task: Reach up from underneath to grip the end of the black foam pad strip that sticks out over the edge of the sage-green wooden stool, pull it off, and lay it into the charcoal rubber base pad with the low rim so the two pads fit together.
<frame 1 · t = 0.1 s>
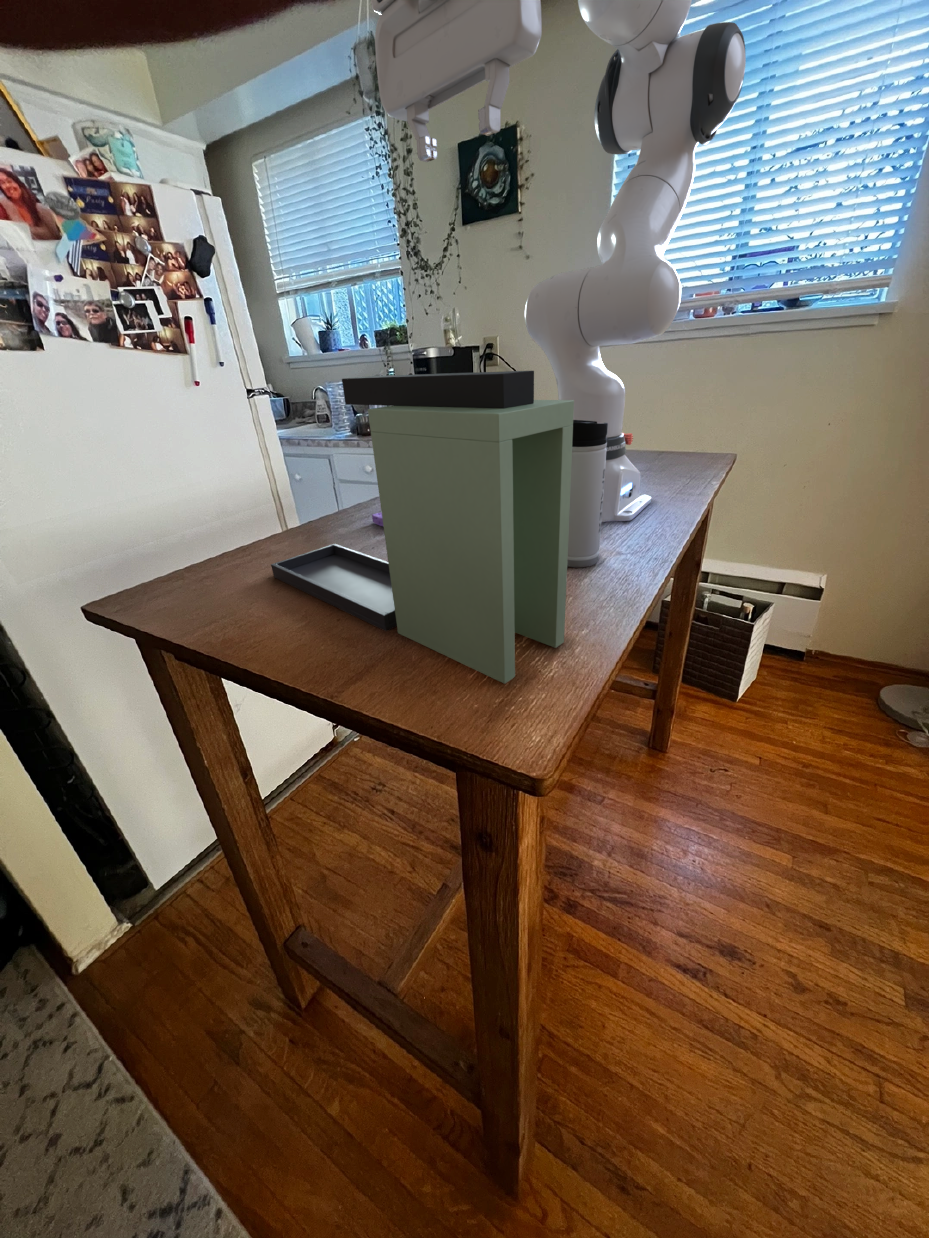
hand: (457, 147, 54), 48 cm above the table, tool pointing down, fingers open, 8 cm apart
base pad: (357, 587, 70), on the table
stool: (478, 637, 56), on the table
black pad: (428, 404, 48), point 24 cm above the table, touching stool
sponge: (409, 520, 99), on the table
travel mug: (575, 561, 75), on the table
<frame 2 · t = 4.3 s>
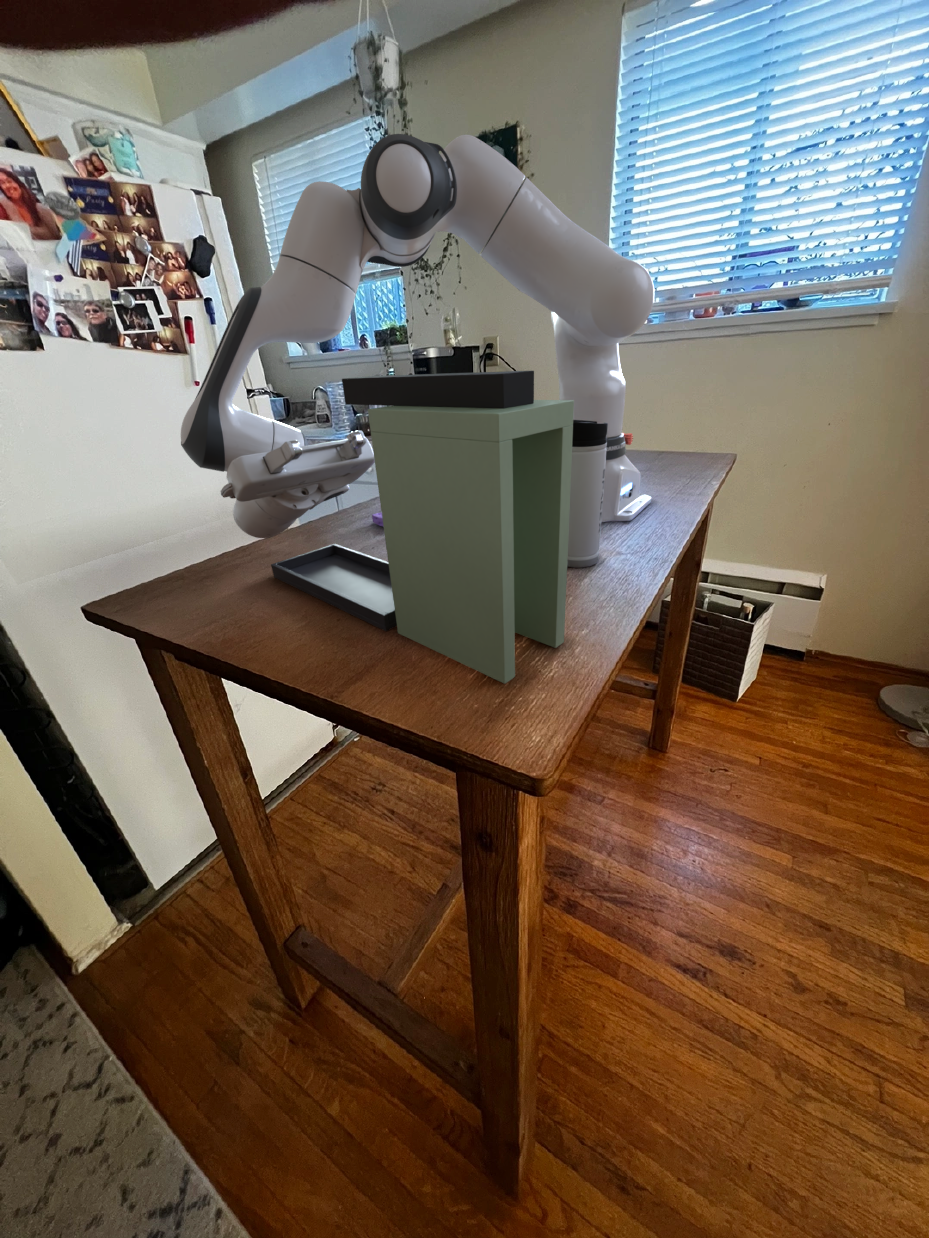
hand: (329, 441, 62), 20 cm above the table, tool pointing upward, fingers open, 8 cm apart
nothing on the table moved.
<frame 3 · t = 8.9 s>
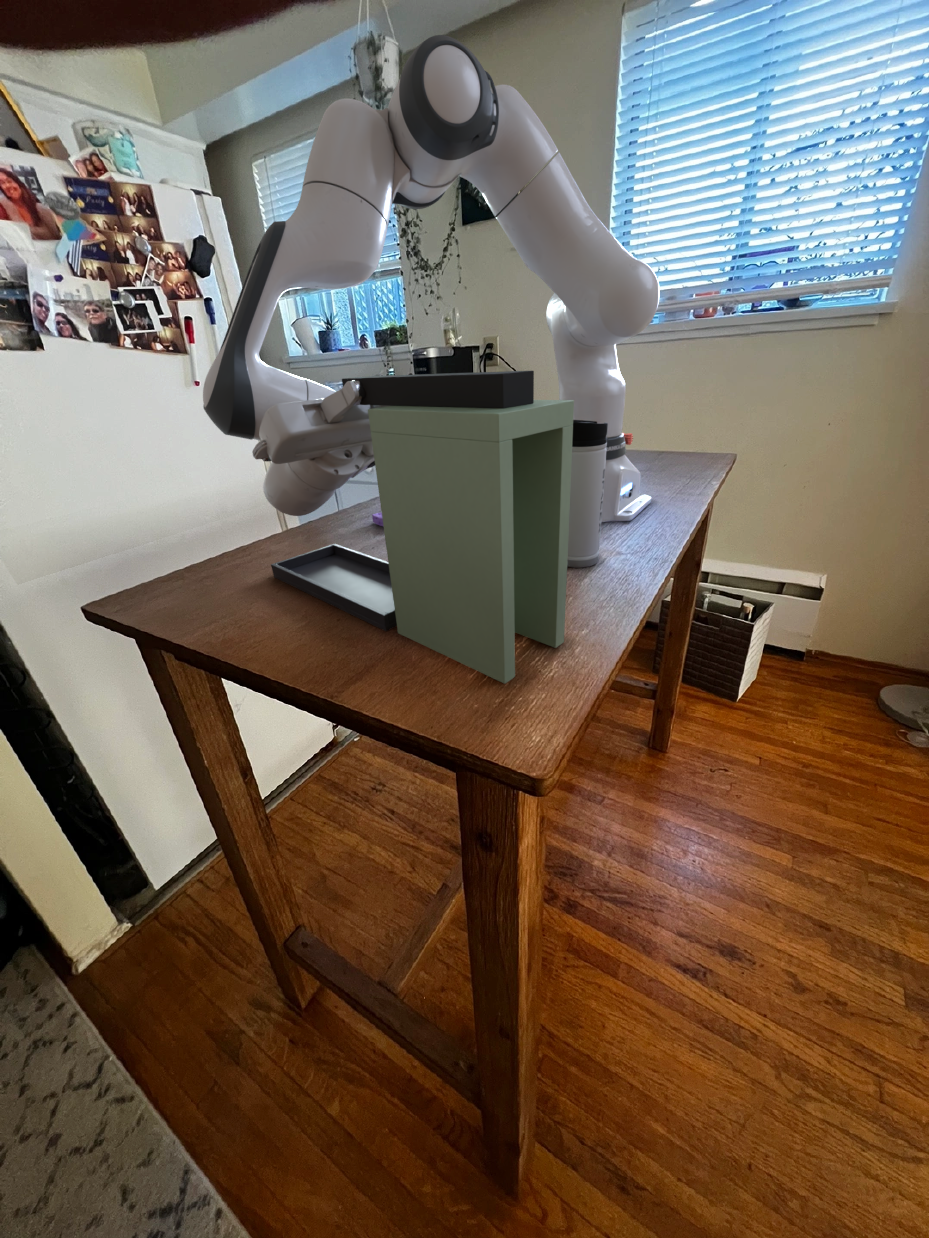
hand: (379, 385, 52), 26 cm above the table, tool pointing upward, fingers closed on black pad, 4 cm apart
black pad: (428, 404, 48), point 24 cm above the table, touching gripper, stool
everything else where it was.
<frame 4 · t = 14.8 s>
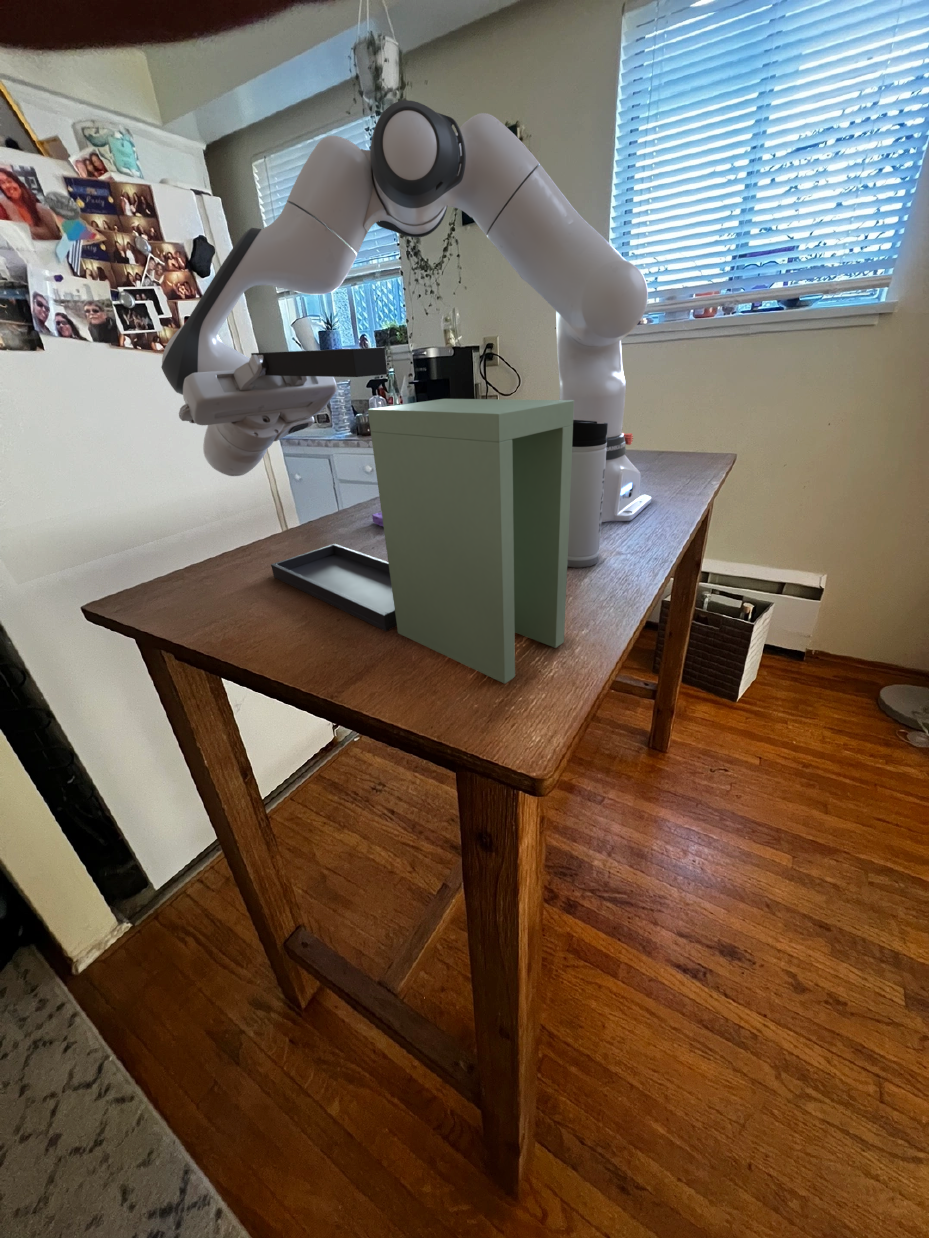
hand: (281, 359, 62), 29 cm above the table, tool pointing upward, fingers closed on black pad, 4 cm apart
black pad: (315, 375, 58), point 27 cm above the table, touching gripper
everything else where it was.
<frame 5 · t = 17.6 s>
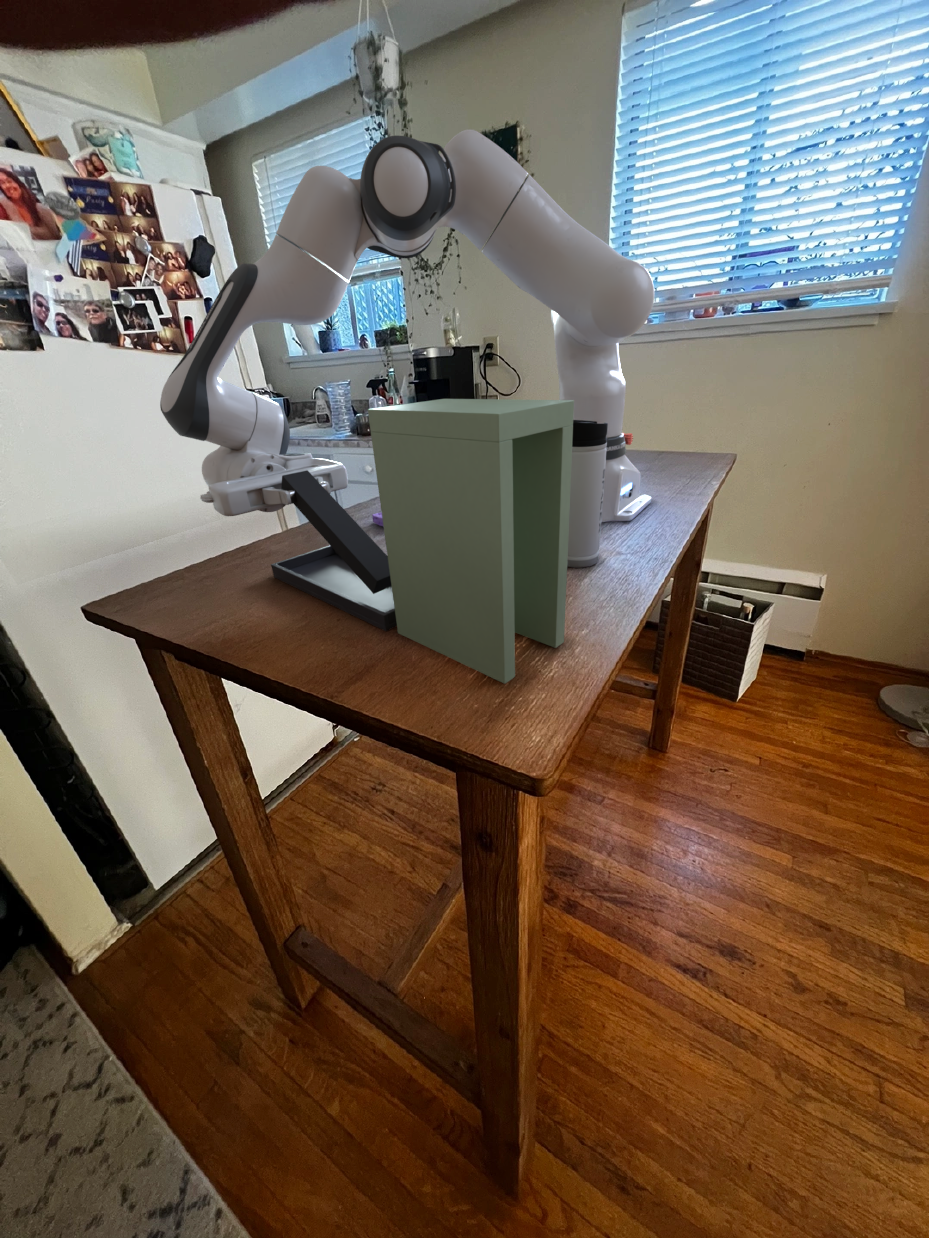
hand: (309, 493, 70), 12 cm above the table, tool horizontal, fingers closed on black pad, 4 cm apart
black pad: (337, 535, 69), point 7 cm above the table, tilted 30°, touching gripper
everything else where it was.
when the fingers open (6 cm above the table, at t = 20.5 s): black pad drops 2 cm, resting on base pad.
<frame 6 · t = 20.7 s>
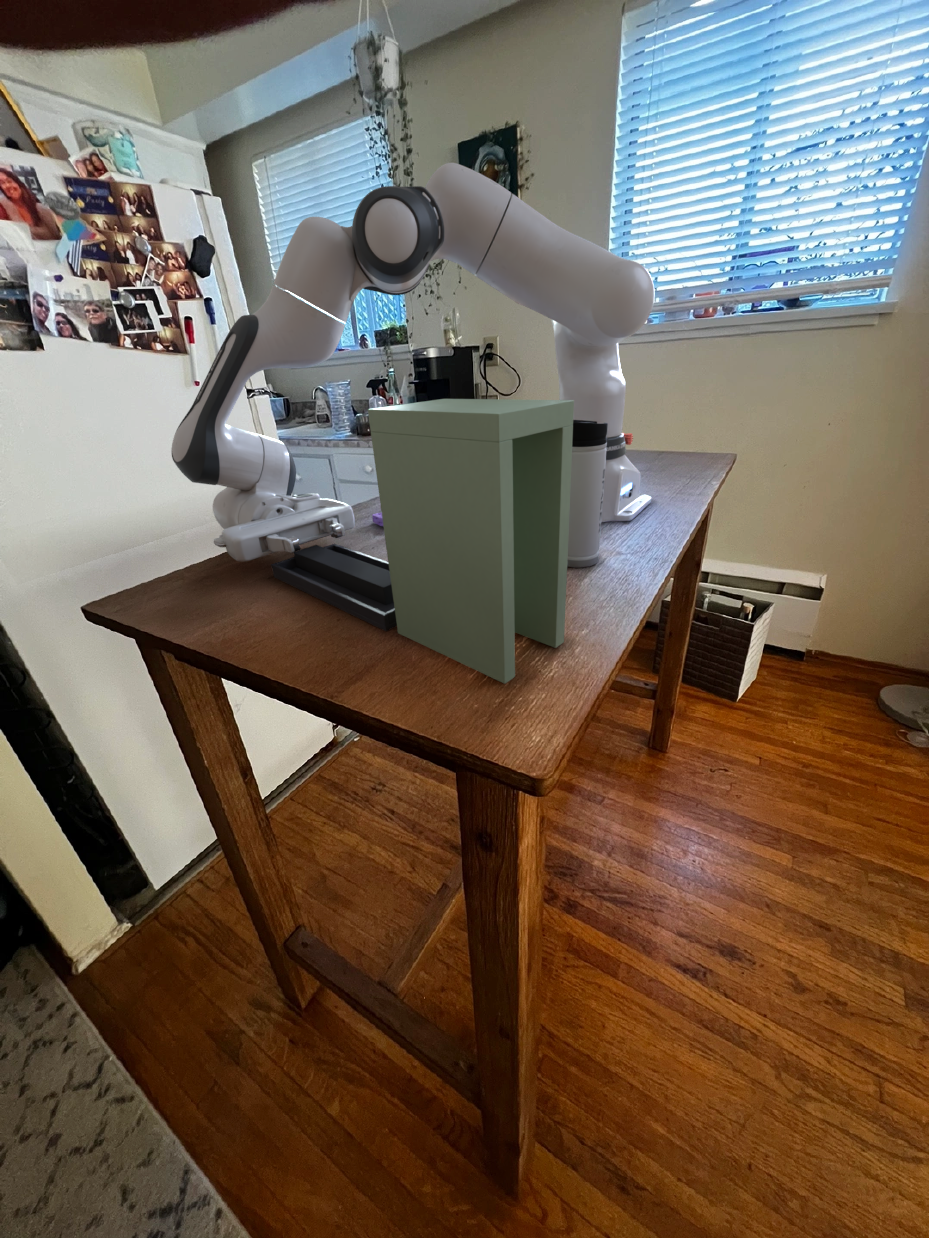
hand: (318, 538, 73), 6 cm above the table, tool horizontal, fingers open, 6 cm apart
black pad: (348, 580, 71), point 1 cm above the table, touching base pad
everything else where it was.
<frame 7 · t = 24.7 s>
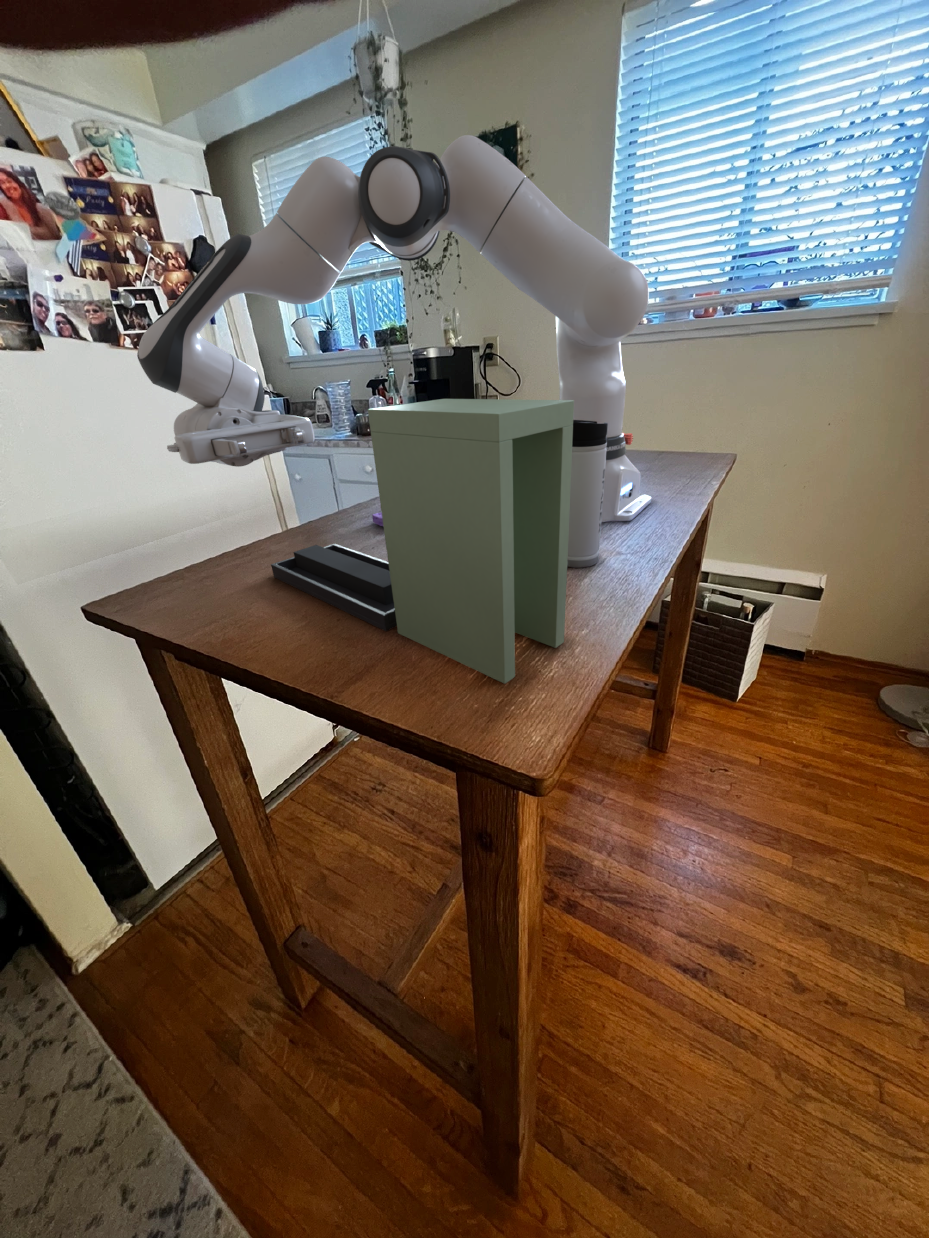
hand: (272, 442, 72), 18 cm above the table, tool horizontal, fingers open, 8 cm apart
nothing on the table moved.
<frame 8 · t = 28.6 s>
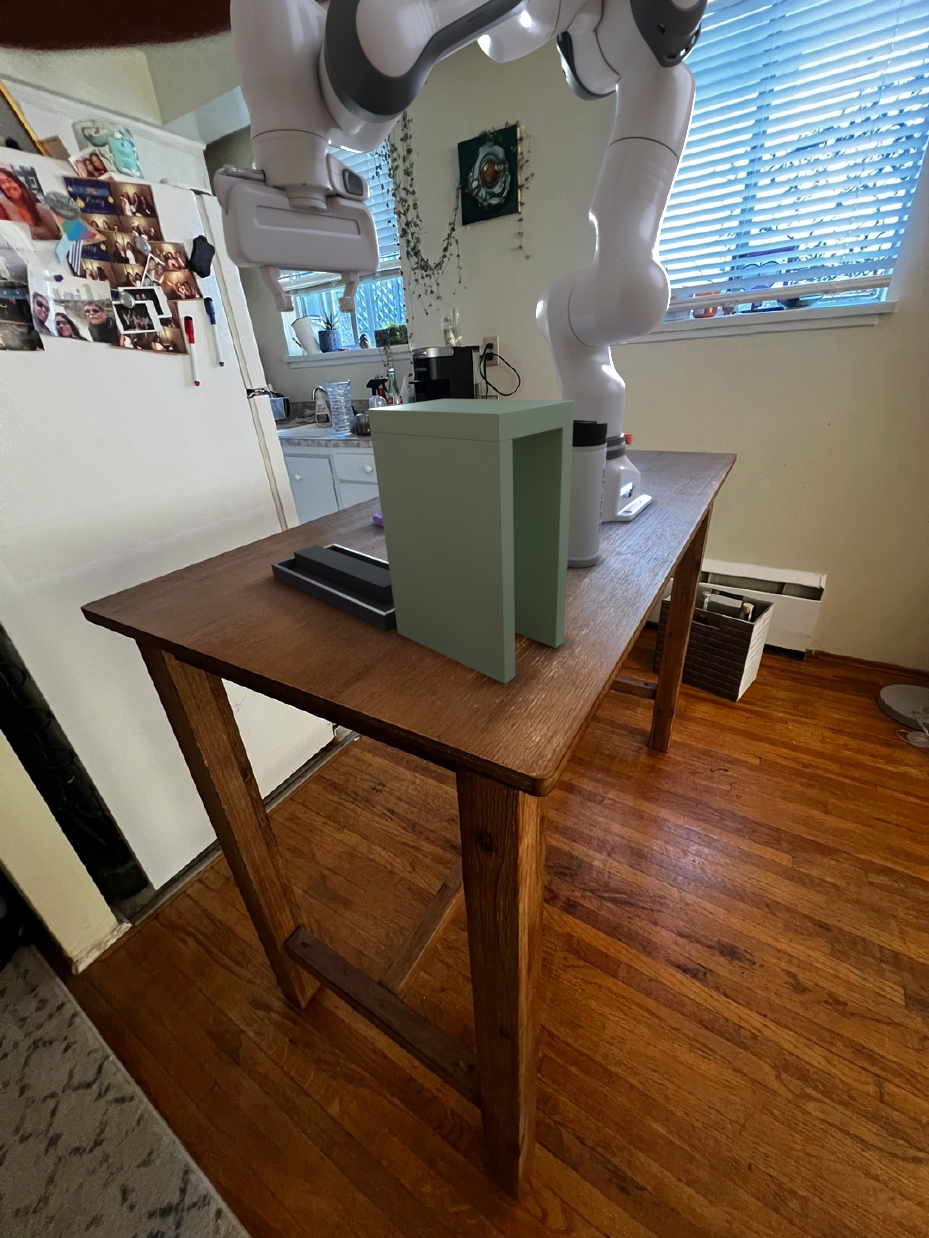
hand: (318, 312, 66), 34 cm above the table, tool pointing down, fingers open, 8 cm apart
nothing on the table moved.
at the end: black pad inside the target area in the base pad (1.9 cm from its centre), point 0.6 cm above the base pad's base; black pad tilted 0°; the gripper is holding nothing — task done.
